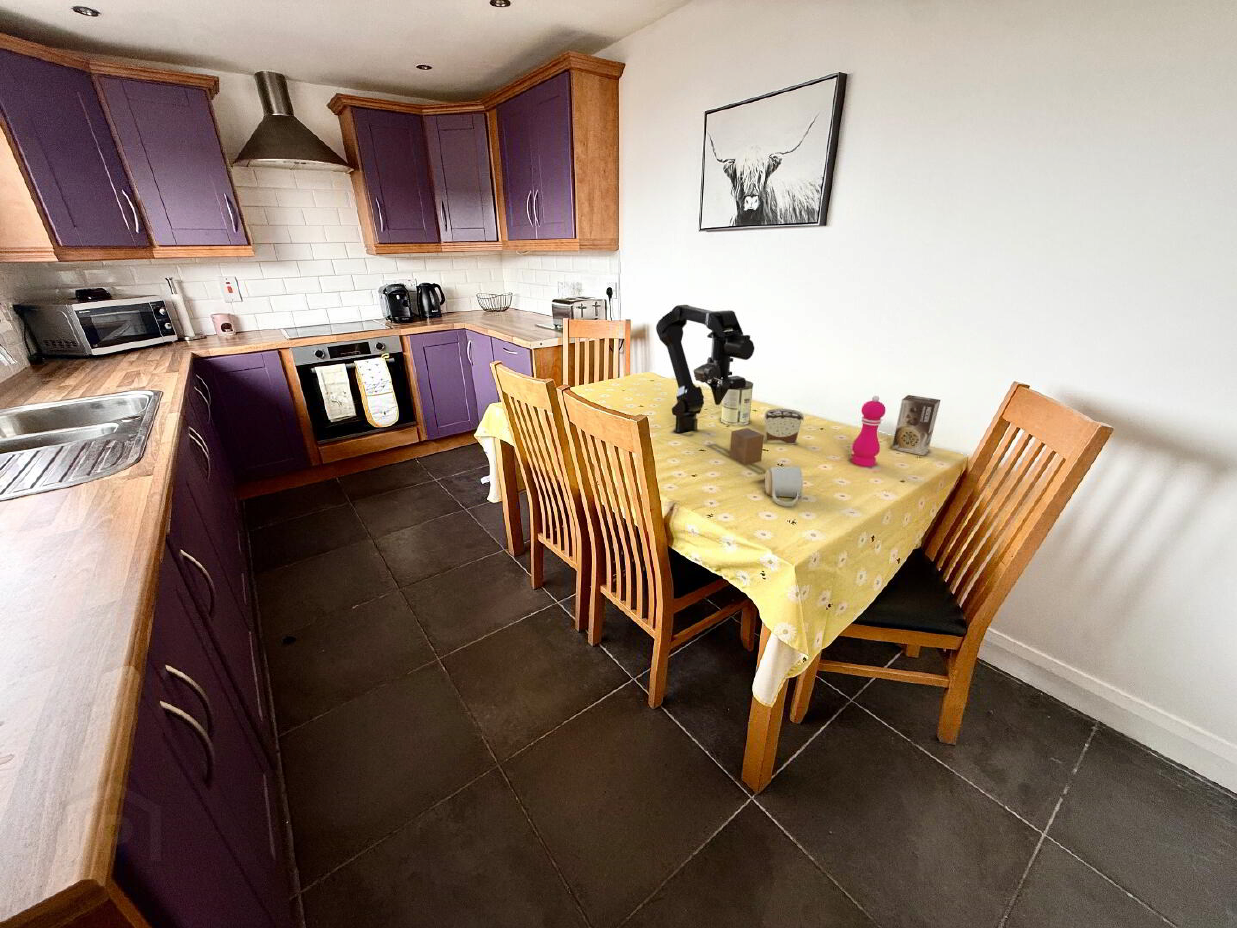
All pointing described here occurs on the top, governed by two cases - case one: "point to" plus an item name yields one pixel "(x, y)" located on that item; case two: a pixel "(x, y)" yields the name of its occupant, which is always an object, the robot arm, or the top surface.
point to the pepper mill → (868, 434)
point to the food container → (783, 425)
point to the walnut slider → (746, 446)
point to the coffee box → (915, 424)
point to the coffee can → (737, 405)
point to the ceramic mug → (784, 483)
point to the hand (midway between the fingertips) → (717, 404)
